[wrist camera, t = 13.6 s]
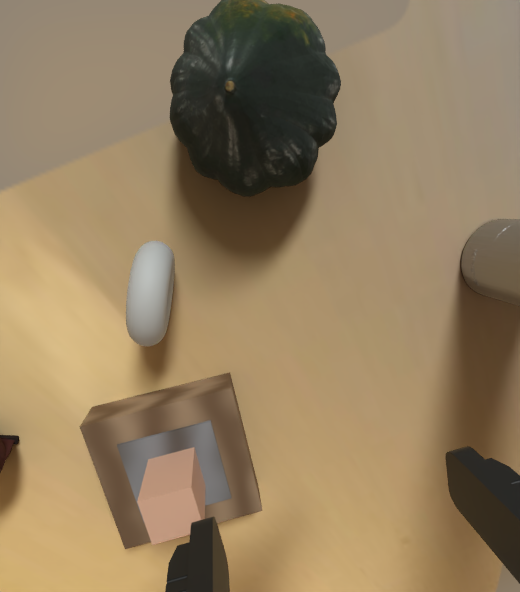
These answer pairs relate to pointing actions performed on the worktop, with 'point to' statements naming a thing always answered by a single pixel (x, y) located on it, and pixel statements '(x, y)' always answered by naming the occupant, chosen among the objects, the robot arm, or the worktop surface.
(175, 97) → the squash
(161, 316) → the donut
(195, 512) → the terracotta block
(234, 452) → the walnut base
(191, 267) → the worktop surface
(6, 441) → the mate gourd
